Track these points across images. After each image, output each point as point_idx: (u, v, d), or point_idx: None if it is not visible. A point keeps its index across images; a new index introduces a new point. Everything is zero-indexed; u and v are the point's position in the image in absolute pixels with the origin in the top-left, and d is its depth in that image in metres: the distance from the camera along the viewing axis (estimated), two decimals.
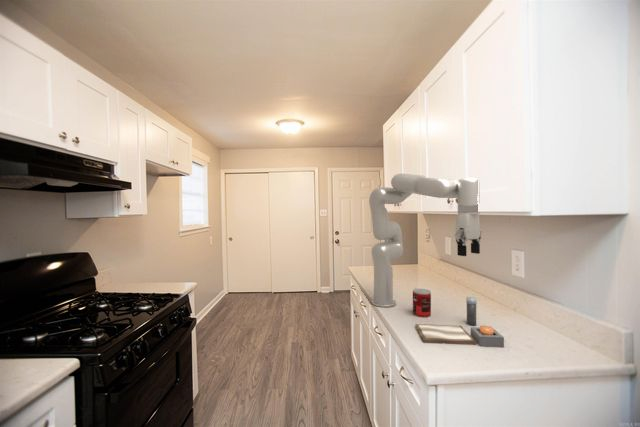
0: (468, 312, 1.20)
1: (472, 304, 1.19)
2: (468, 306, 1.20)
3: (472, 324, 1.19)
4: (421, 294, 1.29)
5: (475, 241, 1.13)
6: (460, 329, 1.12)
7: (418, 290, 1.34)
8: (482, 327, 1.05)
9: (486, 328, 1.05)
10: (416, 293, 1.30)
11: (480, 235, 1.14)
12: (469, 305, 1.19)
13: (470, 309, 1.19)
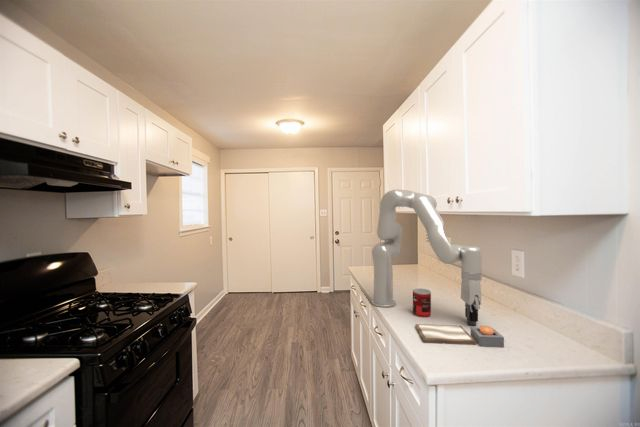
0: (468, 312, 1.20)
1: None
2: (468, 306, 1.20)
3: (472, 324, 1.19)
4: (421, 294, 1.29)
5: None
6: (460, 329, 1.12)
7: (418, 290, 1.34)
8: (482, 327, 1.05)
9: (486, 328, 1.05)
10: (416, 293, 1.30)
11: None
12: (469, 305, 1.19)
13: None
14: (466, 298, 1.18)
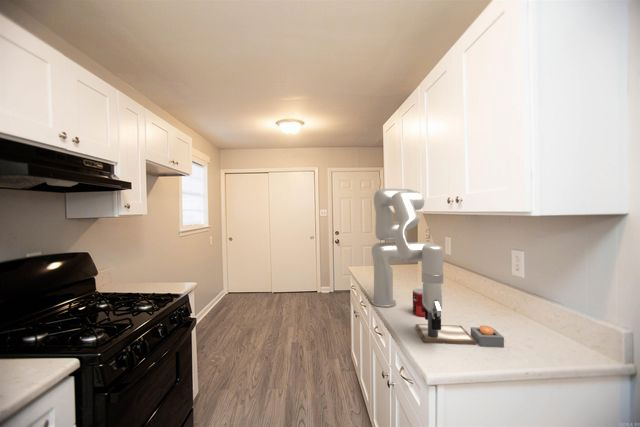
0: (429, 322, 1.06)
1: None
2: (429, 315, 1.06)
3: (433, 336, 1.05)
4: (421, 294, 1.29)
5: None
6: (460, 329, 1.12)
7: (418, 290, 1.34)
8: (482, 327, 1.05)
9: (486, 328, 1.05)
10: (416, 293, 1.30)
11: None
12: (430, 314, 1.06)
13: None
14: (426, 303, 1.05)
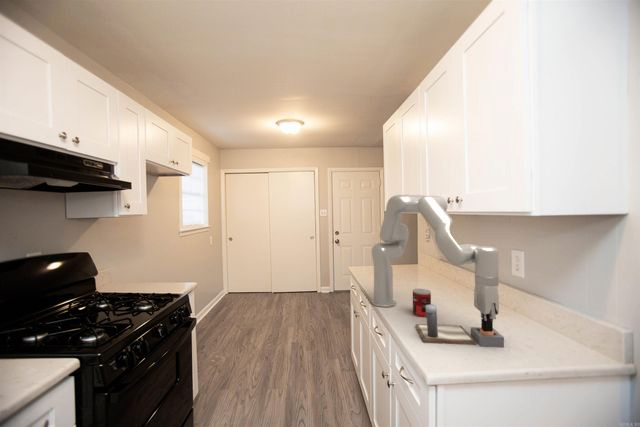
0: (428, 322, 1.06)
1: (430, 312, 1.05)
2: (427, 315, 1.06)
3: (432, 336, 1.05)
4: (421, 294, 1.29)
5: None
6: (460, 329, 1.12)
7: (418, 290, 1.34)
8: None
9: None
10: (416, 293, 1.30)
11: None
12: (427, 314, 1.06)
13: (429, 318, 1.06)
14: (481, 306, 1.03)
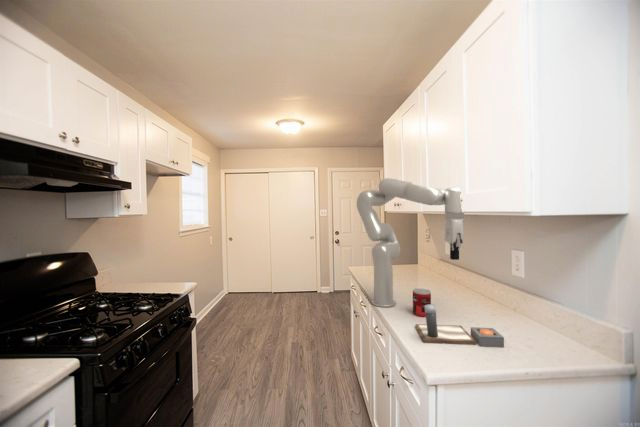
0: (426, 321, 1.07)
1: (428, 313, 1.05)
2: (426, 315, 1.07)
3: (430, 335, 1.06)
4: (421, 294, 1.29)
5: None
6: (460, 329, 1.12)
7: (418, 290, 1.34)
8: (482, 330, 1.05)
9: (486, 331, 1.05)
10: (416, 293, 1.30)
11: None
12: (426, 314, 1.06)
13: (427, 318, 1.06)
14: (449, 237, 1.21)
